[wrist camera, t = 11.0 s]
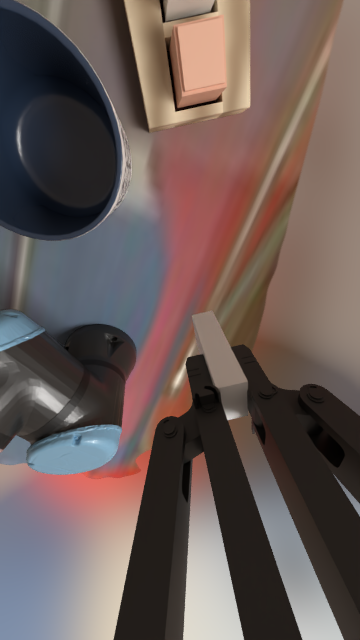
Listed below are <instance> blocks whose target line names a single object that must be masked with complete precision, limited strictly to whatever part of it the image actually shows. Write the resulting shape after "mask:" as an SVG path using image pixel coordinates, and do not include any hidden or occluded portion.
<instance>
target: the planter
mask: <svg viewBox="0 0 360 640" xmlns="http://www.w3.org/2000/svg"><path fill="white" fill-rule="evenodd" d="M131 174H132V160H131V152H130V147H129V143H128V140H127V137H126V134H125V131H124V129H123V127H122V124H121V122H120V120H119V118H118V116H117V113H116V111H115V109H114V107H113V105H112V103H111V101H110V98H109V96H108V94H107V92H106V90H105V88H104V86H103V84H102V82H101V81H100V79H99V77H98V76H97V74H96V72H95V71H94V69H93V68H92V66H91V64H90V63H89V62H88V60H87V59H86V58H85V56H84V55H83V54H82V53H81V51H80V50H79V49H78V48H77V46H76V45H75V44H74V43H73V42H72V41H71V40H70V39H69V38H68V37H67V36H66V35H65V34H64V33H63V32H62V31H61V30H60V29H59V28H58V27H57V26H56V25H54V24H53V23H52V22H50V21H49V20H48V19H46V18H45V17H44V16H42V15H41V14H40V13H38V12H37V11H35V10H33V9H31V8H29V7H28V6H26V5H24V4H22V3H20V2H18V1H16V0H0V225H1V226H3V227H4V228H6V229H8V230H11V231H13V232H15V233H18V234H20V235H23V236H27V237H30V238H34V239H39V240H46V241H62V240H68V239H73V238H76V237H79V236H82V235H84V234H86V233H88V232H89V231H91V230H93V229H94V228H95V227H97V226H98V225H99V224H100V223H101V222H103V221H104V220H105V219H106V218H107V217H108V216H109V215H110V214H111V213H113V212H114V211H115V210H116V209H117V208H118V206H119V205H120V204H121V203H122V201H123V199H124V198H125V196H126V194H127V191H128V188H129V186H130V181H131Z"/></svg>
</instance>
